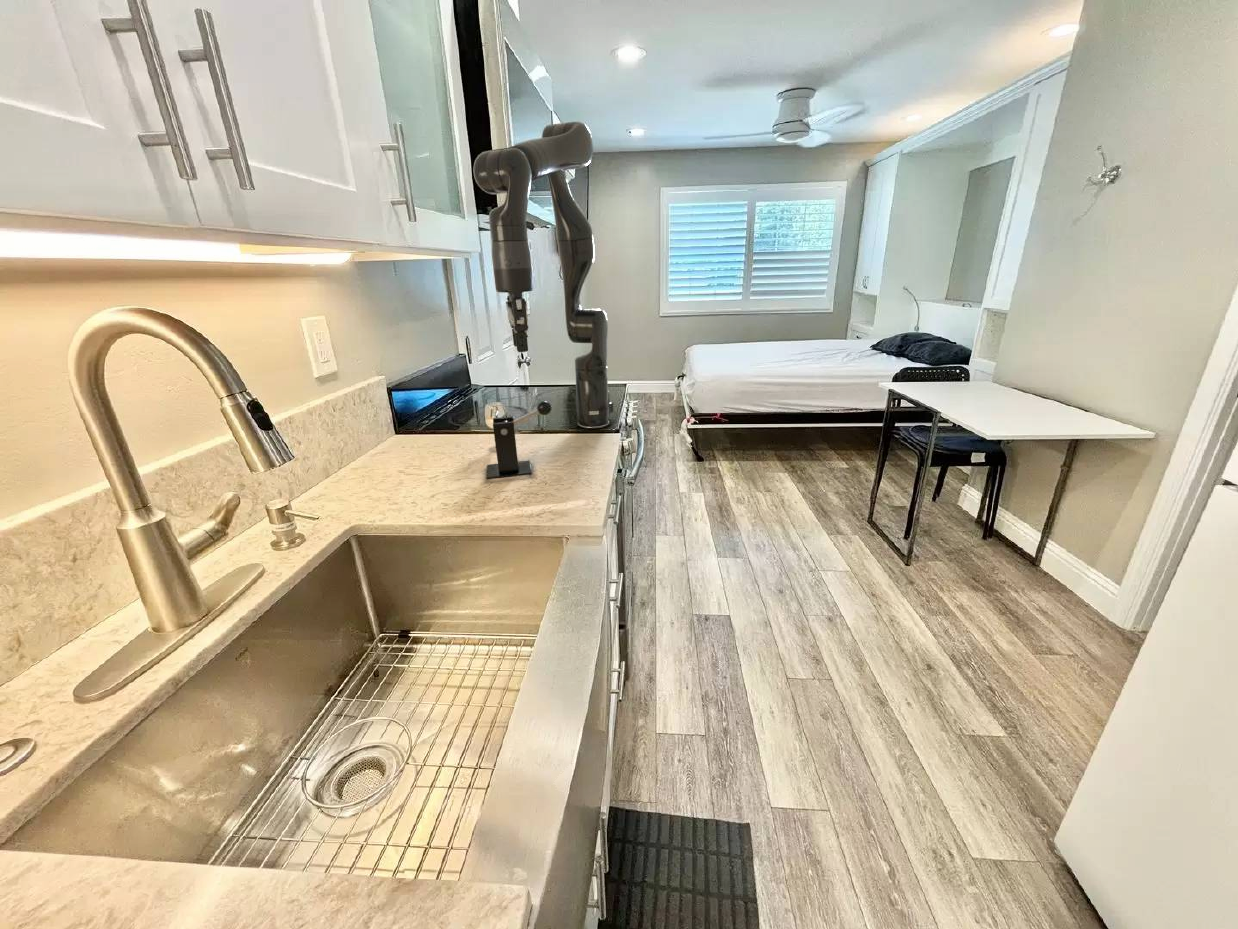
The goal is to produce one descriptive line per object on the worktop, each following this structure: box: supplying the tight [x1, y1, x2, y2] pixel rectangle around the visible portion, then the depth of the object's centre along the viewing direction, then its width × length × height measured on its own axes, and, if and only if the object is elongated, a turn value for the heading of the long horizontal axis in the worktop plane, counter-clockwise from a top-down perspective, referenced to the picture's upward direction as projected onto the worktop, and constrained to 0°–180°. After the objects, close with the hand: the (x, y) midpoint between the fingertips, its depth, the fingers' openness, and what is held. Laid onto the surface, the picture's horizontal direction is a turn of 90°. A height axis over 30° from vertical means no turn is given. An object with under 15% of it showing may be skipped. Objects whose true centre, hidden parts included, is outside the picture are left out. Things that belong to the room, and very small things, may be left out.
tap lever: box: [503, 400, 552, 427], centre depth 110 cm, size 13×3×3 cm, turn 102°
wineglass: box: [483, 401, 508, 430], centre depth 127 cm, size 6×6×12 cm
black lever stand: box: [485, 416, 533, 480], centre depth 111 cm, size 10×8×13 cm
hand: (520, 348), depth 104 cm, fingers open, 8 cm apart
